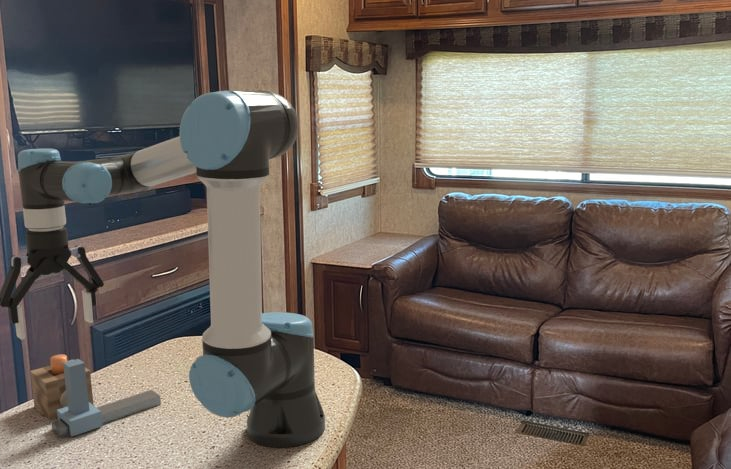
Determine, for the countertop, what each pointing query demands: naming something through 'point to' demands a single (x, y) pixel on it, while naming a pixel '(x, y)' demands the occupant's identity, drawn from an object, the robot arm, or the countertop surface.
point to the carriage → (78, 401)
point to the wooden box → (52, 391)
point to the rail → (115, 410)
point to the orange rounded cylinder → (58, 364)
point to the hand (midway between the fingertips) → (56, 329)
